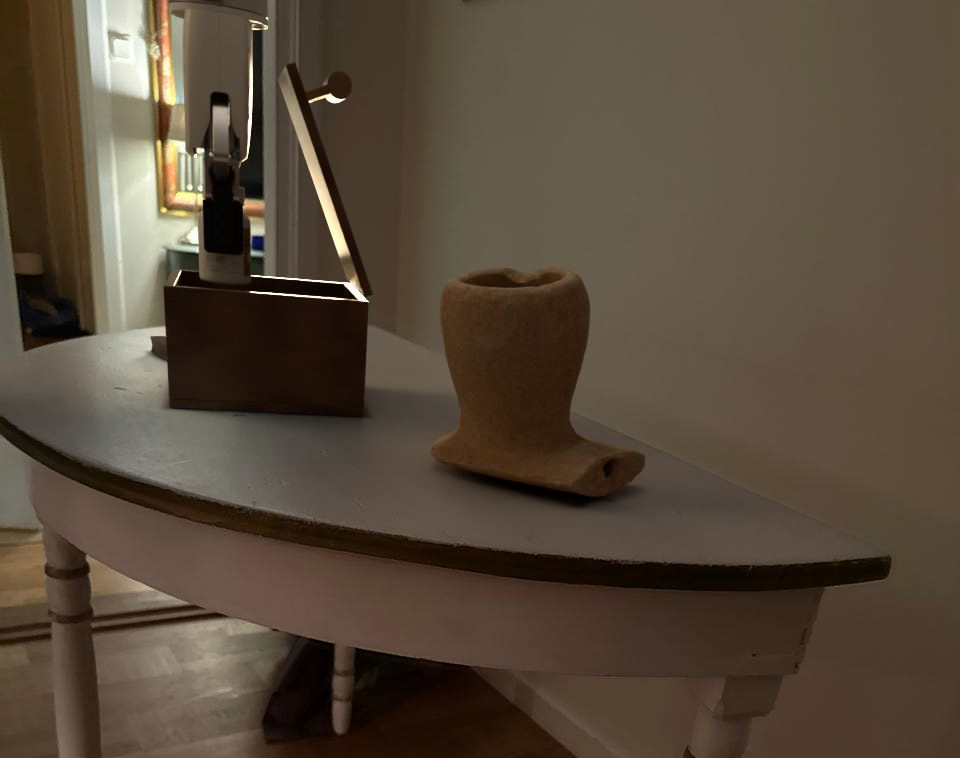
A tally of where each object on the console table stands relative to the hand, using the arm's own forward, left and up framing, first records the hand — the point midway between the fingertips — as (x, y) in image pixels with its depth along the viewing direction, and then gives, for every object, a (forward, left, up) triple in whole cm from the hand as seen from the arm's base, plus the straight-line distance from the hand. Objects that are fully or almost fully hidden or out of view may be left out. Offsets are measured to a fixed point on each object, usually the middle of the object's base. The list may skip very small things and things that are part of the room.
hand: (224, 248), depth 79 cm
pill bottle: (0, 0, -3) cm, 3 cm away
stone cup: (+22, -25, -13) cm, 35 cm away
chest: (+4, 0, -12) cm, 13 cm away
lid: (+8, 0, +6) cm, 10 cm away
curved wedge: (-2, +15, -13) cm, 20 cm away
